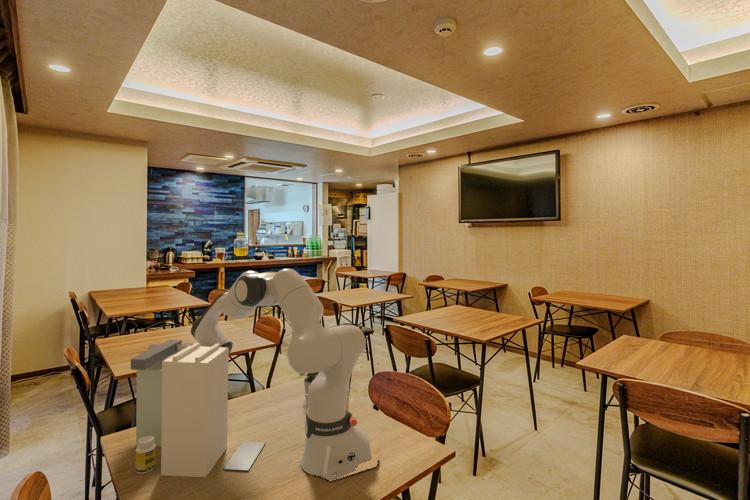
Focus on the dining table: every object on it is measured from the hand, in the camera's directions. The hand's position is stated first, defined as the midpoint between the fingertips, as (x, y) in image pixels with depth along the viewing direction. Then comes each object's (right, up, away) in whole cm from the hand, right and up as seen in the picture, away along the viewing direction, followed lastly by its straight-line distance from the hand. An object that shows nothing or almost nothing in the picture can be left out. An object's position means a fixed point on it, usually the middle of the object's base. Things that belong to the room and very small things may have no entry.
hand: (168, 346), depth 125 cm
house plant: (+41, -28, +30) cm, 58 cm away
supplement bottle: (+5, -29, -20) cm, 35 cm away
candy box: (+54, -29, +16) cm, 63 cm away
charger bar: (0, -2, -6) cm, 6 cm away
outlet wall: (+16, -29, -16) cm, 37 cm away
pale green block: (-1, -28, -4) cm, 28 cm away
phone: (+29, -30, -13) cm, 44 cm away
